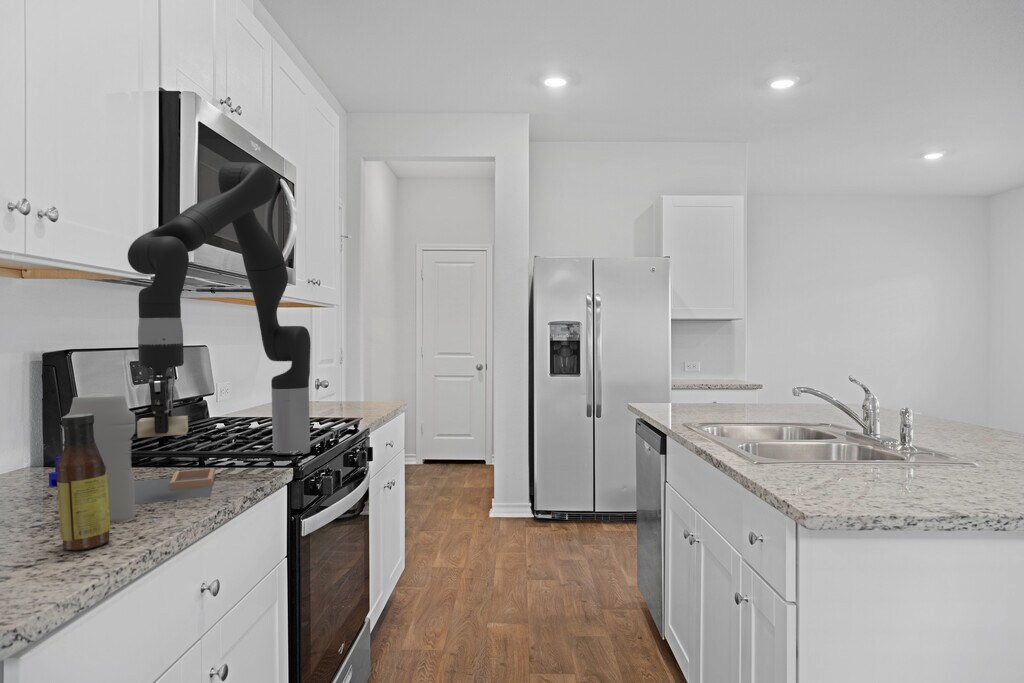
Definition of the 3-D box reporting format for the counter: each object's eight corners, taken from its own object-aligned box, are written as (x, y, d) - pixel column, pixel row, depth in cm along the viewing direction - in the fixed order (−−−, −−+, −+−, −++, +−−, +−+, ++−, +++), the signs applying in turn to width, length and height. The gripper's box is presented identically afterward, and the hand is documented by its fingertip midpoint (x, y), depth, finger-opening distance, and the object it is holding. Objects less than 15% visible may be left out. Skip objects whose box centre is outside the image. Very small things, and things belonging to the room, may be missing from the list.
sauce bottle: (119, 537, 99) (116, 411, 98) (94, 552, 92) (90, 417, 92) (76, 538, 98) (73, 412, 98) (48, 553, 92) (44, 418, 92)
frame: (175, 478, 136) (175, 471, 136) (214, 474, 139) (214, 467, 139) (169, 490, 126) (169, 482, 126) (211, 486, 129) (211, 478, 128)
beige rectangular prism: (137, 437, 117) (137, 421, 117) (141, 433, 121) (141, 418, 121) (185, 434, 120) (185, 418, 120) (188, 430, 124) (187, 415, 124)
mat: (132, 483, 133) (132, 481, 133) (215, 476, 139) (215, 474, 139) (113, 508, 115) (113, 505, 115) (210, 498, 121) (210, 496, 121)
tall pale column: (61, 529, 103) (57, 395, 102) (71, 522, 107) (67, 393, 106) (134, 523, 106) (130, 393, 105) (141, 516, 110) (138, 390, 109)
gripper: (179, 342, 115) (181, 435, 115) (186, 340, 128) (189, 424, 128) (131, 343, 112) (134, 439, 112) (144, 341, 125) (147, 427, 126)
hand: (163, 430), depth 120 cm, fingers closed on beige rectangular prism, 4 cm apart
